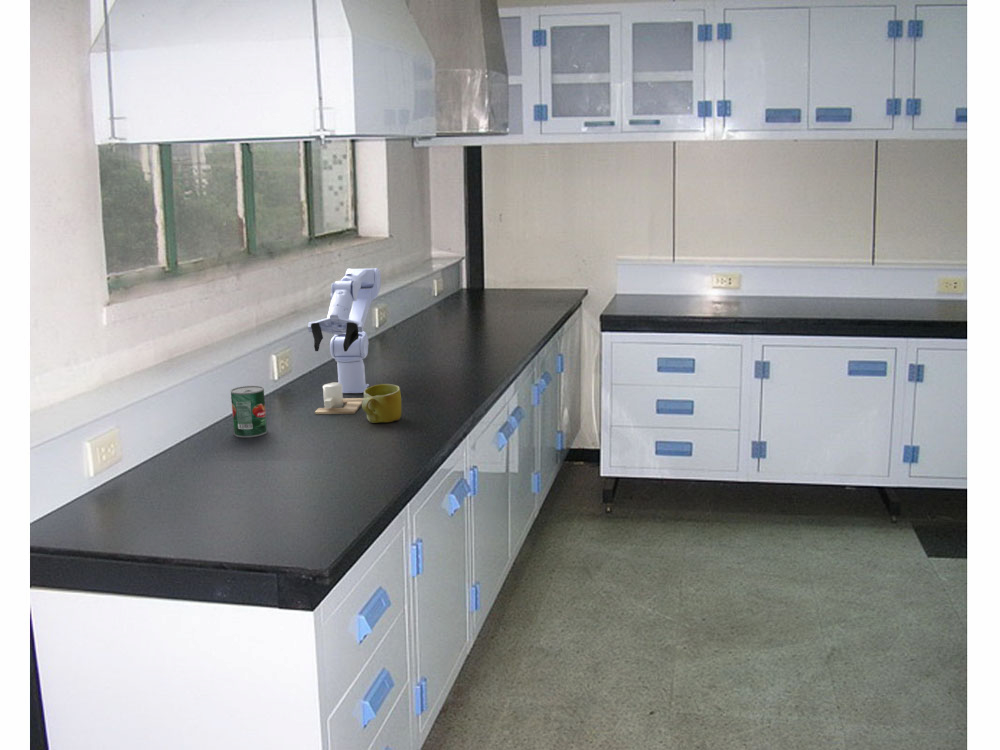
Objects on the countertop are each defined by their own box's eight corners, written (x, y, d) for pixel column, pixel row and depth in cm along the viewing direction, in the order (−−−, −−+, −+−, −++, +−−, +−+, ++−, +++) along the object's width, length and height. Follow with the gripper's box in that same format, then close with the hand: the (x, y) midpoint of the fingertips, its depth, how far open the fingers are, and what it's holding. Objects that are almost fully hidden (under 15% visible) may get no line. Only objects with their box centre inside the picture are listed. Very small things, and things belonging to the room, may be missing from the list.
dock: (327, 400, 282) (327, 398, 282) (364, 400, 282) (364, 398, 281) (314, 414, 268) (314, 411, 268) (354, 413, 268) (354, 411, 267)
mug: (382, 404, 269) (383, 372, 263) (410, 421, 263) (411, 388, 258) (346, 422, 261) (347, 389, 255) (374, 440, 255) (375, 407, 250)
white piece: (327, 404, 278) (325, 382, 277) (345, 404, 278) (344, 382, 277) (318, 413, 269) (317, 391, 267) (337, 413, 268) (336, 391, 267)
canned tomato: (232, 431, 254) (228, 387, 252) (264, 427, 257) (261, 384, 254) (236, 439, 247) (232, 394, 244) (269, 435, 249) (266, 390, 247)
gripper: (309, 302, 277) (300, 337, 267) (363, 302, 276) (355, 337, 266) (314, 321, 282) (305, 356, 272) (367, 322, 281) (359, 357, 271)
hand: (330, 348), depth 270 cm, fingers open, 7 cm apart
